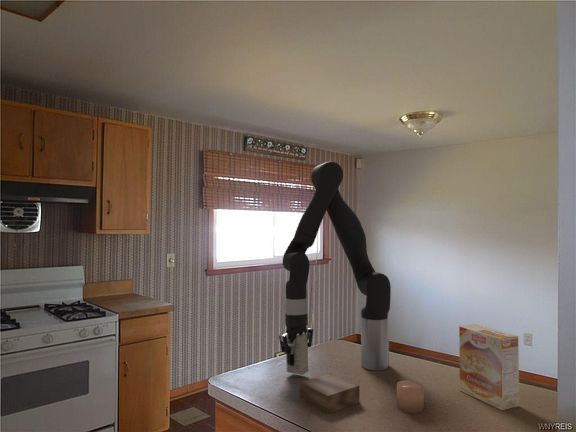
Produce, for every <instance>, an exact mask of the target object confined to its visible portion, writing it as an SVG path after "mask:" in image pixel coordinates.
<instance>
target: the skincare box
mask: <svg viewBox="0 0 576 432" xmlns="http://www.w3.org/2000/svg"><path fill="white" fill-rule="evenodd" d="M287 339H288V338H287ZM289 343H290V344H293V343H292V342H290V341H289ZM307 343H308V342H307V335H306V334H305V335H299V337H297V345H296V347H295V348H294V353H293V354H294V365H293V366H290V365H288V363H287V354H286V353H285V358H286V359H285V360H286V362H285V363H286V372H287V373H289V374H295V375H301V376H303V375H305V374H306V373H308V372H309V357H308V356H309V352H308V351H309V350H308V348H309V347H308V345H307ZM290 350H291V346H290Z"/></svg>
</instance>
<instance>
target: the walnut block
mask: <svg viewBox="0 0 576 432" xmlns="http://www.w3.org/2000/svg"><path fill="white" fill-rule="evenodd" d="M299 399H300V400H302V401H303V402H305V403H307V404H309V405H310V406H313V407H314V408H316V409H318V410H320V411H322V412H324V413H326V414H327V415H328V414H331V413H335V412H337V411H339V410H342V409H346V408H347V407H350V406H353V405H355V404H359V403H360V385H359V384H357V383H355V382H352V381H350V380H348V379H345V378H343V377H340V376H338V375H336V374H333V373H327V374H323V375H321V376H319V375H318V376H317V377H313V378H310V379H306V380H302V381H300V382H299Z"/></svg>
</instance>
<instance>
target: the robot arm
mask: <svg viewBox="0 0 576 432" xmlns="http://www.w3.org/2000/svg"><path fill="white" fill-rule="evenodd" d="M310 179H311V180H310V181H311V183H312V185H313V187H314V190H315V193H314V195H313V197H312V199H311V201H310V202H309V204H308V206H307V207H306V209H305V211H304V212H303V214H302V216H301V217H300V220H299V222H298V225H297V227H296V230H295V233H294V236H293V238H292V240H291V241H290V243H289V244H288V245H287V248H286V250H285V251H284V254H283V257H282V265H283V268H284V269H285V270H286V271H288V272H289V277H288V278H289V279H288V280H287V281H286V283H285V301H284V303H285V304H284V313H285V314H284V318H285V319H284V325H285V327H286V329H285V333H283V334H279V336H278V339H279V344H280V348H281V352H282V353H284V354H285V355H286V354H287V363H288V365H290V366H293V365H294V354H293V353H294V348H295V347H296V345H297V337H299V335H305V334H306V335H307V345H308V348H311V347H312V343H313V337H314V329H313V328H310V327H307V326H308V325H309V320H308V319H309V316H308V315H309V313H308V312H309V311H308V308H309V306H308V298H307V297H308V295H307V283H308V280H309V274H310V265H311V264H310V258H309V257H308V255H307V254H306V253H307V251H308V250H309V248H311V247H312V246H313V245H314V243H315V241H316V239H317V236H318V233H319V230H320V227H321V224H322V222H323V220H324V217H325V215H326V213H327V214H328V217H329V220H330V221H331V224H332V226H333V229H334V231H335V233H336V237H337V239H338V241H339V242H340V244H341V247H342V249H343V252H344V253H345V255H346V258H347V259H348V262H349V265H350V266H351V270H352V273H353V275H354V279H355V282H356V285H357V288H358V290H359V292H361V294H362V295H364V296H365V297H366V298H365V299H366V300H365V306H364V307H362V309H361V311H360V315H361V317H360V321H361V322H360V326H361V328H360V333H361V337H360V341H361V343H360V344H361V345H360V349H361V351H360V352H361V354H360V357H361V358H360V360H361V362H360V363H361V365H360V366H361V367H362V368H364V369H367V370H369V371H384V370H387V369H388V368H389V365H390V338H389V337H388V336H389V335H388V334H389V323H388V322H389V321H388V319H389V316H388V315H389V312H390V309H391V297H392V296H391V294H392V293H391V292H392V291H391V287H392V286H391V282H390V279H389V278H388V276H387V275H386V274H384V273H382V272H378V271H376V270H375V268H374V267H373V265H372V262H371V261H370V258H369V255H368V249H367V248H368V246H367V245H368V244H367V236H366V233H365V230H364V227H363V226H362V223H361V221H360V220H359V218H358V216H357V214H356V213H355V211H353V209H352V208H351V207H350V206H349V205H348V204H347V202H346V201H345V200H344V199H343V196H342V195H341V192H340V189H339V187H340V185H341V183H342V182H343V179H344V170H343V167H342V166H341V165H340V164H339V163H338V162H335V161H326V162H323V163H320V164H319V165H317V166H315V167H314V168H313V169H312V171H311V173H310ZM287 338H288V339H287ZM289 341H290V342H292V343H293V344H290V343H289ZM290 346H291V350H290Z"/></svg>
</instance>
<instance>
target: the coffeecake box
mask: <svg viewBox="0 0 576 432" xmlns="http://www.w3.org/2000/svg"><path fill="white" fill-rule="evenodd" d="M458 328H459V329H458V331H459V343H458V344H459V347H458V348H459V391H461V392H463V393H465V394H466V395H469V396H471V397H473V398H475V399H477V400H479V401H481V402H483V403H486V404H488V405H490V406H492V407H494V408H496V409H498V410H501V411H506V410H509V409H513V408H518V407H520V379H519V378H520V375H519V374H520V373H519V372H520V368H519V366H520V362H519V359H520V358H519V357H520V353H519V335H515V334H512V333H507V332H504V331H502V330H501V331H500V330H497V329H493V328H489V327H487V326H483V325H479V324H474V323H473V324H468V325H467V324H465V325H464V324H463V325H459V326H458Z"/></svg>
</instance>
